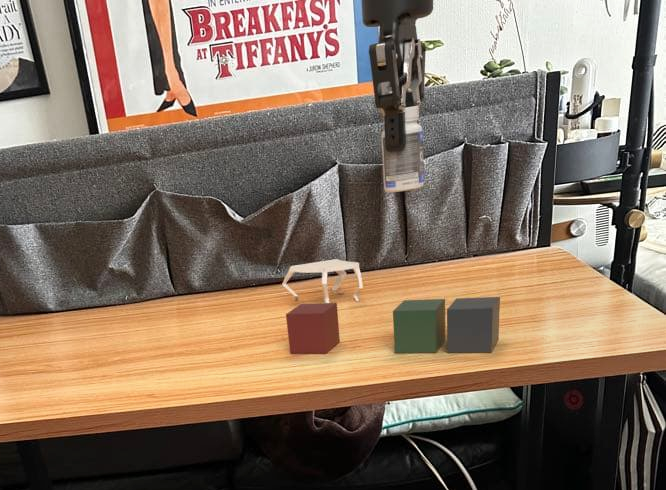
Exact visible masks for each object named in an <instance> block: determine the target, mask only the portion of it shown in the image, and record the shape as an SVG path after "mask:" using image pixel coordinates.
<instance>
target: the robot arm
mask: <svg viewBox="0 0 666 490" xmlns="http://www.w3.org/2000/svg"><path fill="white" fill-rule="evenodd" d="M360 1H361V18H362V24H363V26H364V27H368V28H378V27H379V28H378V43H372V44H369V47H368V56H369V63H370V72H371V79H372V86H373V94H374V95H373V96H374V105H375V108H376V109H380V112H381V113H380V114H381V115H382V116H383V114H385V115H384V120H383V126H384V130H385V148H386V151H387V152H394V151H401V150H404V149H405V147H406V129H405V112H402V111H404V110H405V108H407V107H413V106H418V107H419V109H420V107H421V104H422V103H423V102H424V100H425V78H426V52H427V47H426V44H425V42H421V38H418V33H417V26H416V22H417V21H418V19H424V18H426V17H428V16H430V15H431V14H432V13H433V11H434V0H360ZM409 90H411V91H409ZM401 112H402V113H401ZM417 123H418V124H419V120H417Z"/></svg>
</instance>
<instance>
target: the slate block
mask: <svg viewBox="0 0 666 490" xmlns="http://www.w3.org/2000/svg"><path fill="white" fill-rule="evenodd" d="M500 306H501V297H500V296H488V297H460V298H459V297H458V298H455V299H454V300H453V302H451V304H450V305H449V306H448V308H446V353H447V354H454V353H455V354H465V353H466V354H467V353H468V354H470V353H471V354H480V353H481V354H483V353H484V354H485V353H486V354H487V353H488V354H489V353H492V352H493V350H494V349H495V347H496V345H497V344H498V342H499V338H500V309H501V307H500Z"/></svg>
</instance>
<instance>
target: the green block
mask: <svg viewBox="0 0 666 490" xmlns="http://www.w3.org/2000/svg"><path fill="white" fill-rule="evenodd" d="M392 319H393V321H392V322H393V323H392V324H393V345H394V346H393V347H394V354H436V353H438V351H439V350H440V348H442V346H443V344H444V343H445V341H446V298H437V299H436V298H433V299H430V298H429V299H405V300H403V301H402V302H401V303H399V305H397V307H395V308H394V309H393V310H392Z"/></svg>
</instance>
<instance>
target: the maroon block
mask: <svg viewBox="0 0 666 490" xmlns="http://www.w3.org/2000/svg"><path fill="white" fill-rule="evenodd" d="M285 318H286V329H287V337H288V345H289V353H290V354H294V355H295V354H296V355H297V354H328V353H329V352H330V351H331V350H332V349H334V348H335V347H336V346H337V345H338V344H339V343H340V342H341V341H340V339H341V338H340V327H339V313H338V303H337V302H329V303H325V302H320V303H300V304H299V305H297V306H296V307H295V308H292V309H291V310H290V311H288V312H287V313H285Z"/></svg>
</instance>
